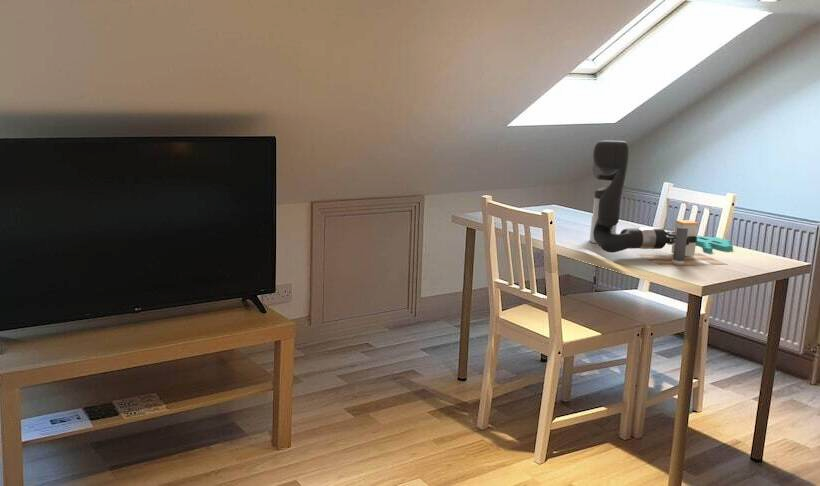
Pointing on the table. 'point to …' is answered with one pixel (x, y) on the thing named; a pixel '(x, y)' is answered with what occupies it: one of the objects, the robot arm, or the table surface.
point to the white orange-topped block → (692, 231)
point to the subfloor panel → (688, 260)
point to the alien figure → (713, 244)
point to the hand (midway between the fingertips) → (691, 237)
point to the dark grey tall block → (680, 246)
